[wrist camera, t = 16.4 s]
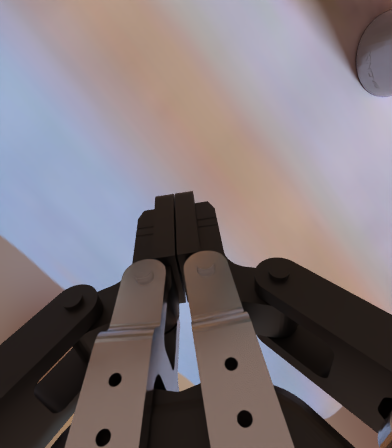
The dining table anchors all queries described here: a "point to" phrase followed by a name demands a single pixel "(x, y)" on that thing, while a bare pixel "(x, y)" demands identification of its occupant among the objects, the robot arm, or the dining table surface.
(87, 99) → the dining table surface
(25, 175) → the dining table surface
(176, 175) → the dining table surface
